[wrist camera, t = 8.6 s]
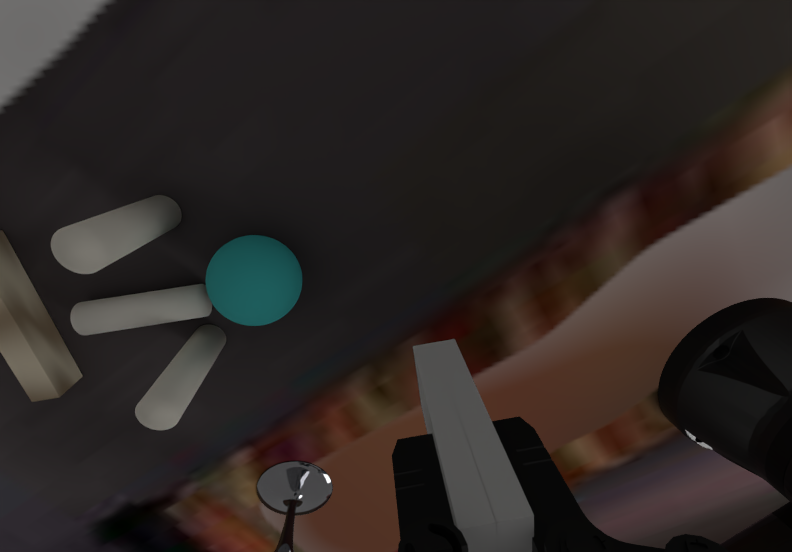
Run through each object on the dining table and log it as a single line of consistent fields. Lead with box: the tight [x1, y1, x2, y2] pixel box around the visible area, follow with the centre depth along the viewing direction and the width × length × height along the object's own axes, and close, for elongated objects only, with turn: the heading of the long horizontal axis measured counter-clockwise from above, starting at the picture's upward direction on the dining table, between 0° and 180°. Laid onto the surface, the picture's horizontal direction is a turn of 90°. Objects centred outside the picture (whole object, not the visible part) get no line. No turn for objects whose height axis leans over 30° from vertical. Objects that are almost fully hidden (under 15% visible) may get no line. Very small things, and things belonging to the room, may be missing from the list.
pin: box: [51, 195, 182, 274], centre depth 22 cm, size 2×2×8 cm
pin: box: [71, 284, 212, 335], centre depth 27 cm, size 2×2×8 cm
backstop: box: [0, 230, 83, 402], centre depth 27 cm, size 12×2×2 cm, turn 8°
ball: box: [206, 235, 302, 326], centre depth 25 cm, size 6×6×6 cm
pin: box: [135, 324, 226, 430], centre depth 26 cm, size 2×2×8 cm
